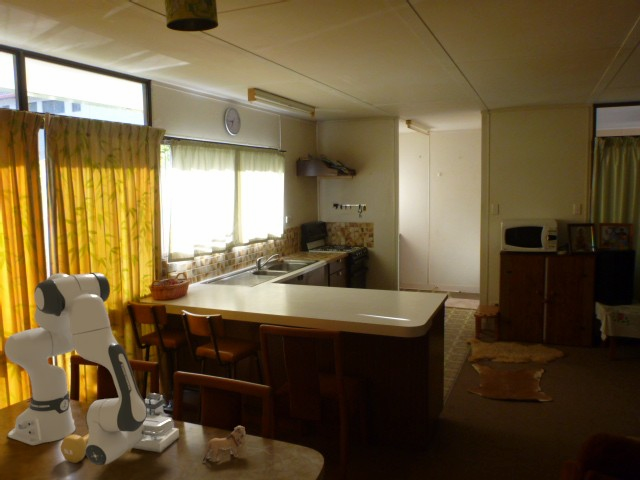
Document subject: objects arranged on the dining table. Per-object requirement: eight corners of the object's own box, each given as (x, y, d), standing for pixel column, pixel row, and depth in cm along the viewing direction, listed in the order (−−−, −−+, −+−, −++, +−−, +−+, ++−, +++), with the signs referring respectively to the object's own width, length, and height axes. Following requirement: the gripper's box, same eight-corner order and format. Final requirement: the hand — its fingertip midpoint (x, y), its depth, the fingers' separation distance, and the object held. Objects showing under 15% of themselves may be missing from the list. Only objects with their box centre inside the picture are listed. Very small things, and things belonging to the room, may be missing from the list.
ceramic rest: (132, 447, 177) (131, 439, 177) (152, 433, 188) (151, 424, 187) (160, 452, 174) (160, 443, 173) (179, 436, 184) (178, 428, 184)
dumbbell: (79, 466, 166) (77, 441, 165) (58, 461, 170) (56, 437, 169) (123, 439, 184) (121, 416, 183) (103, 435, 187) (101, 412, 186)
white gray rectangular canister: (145, 439, 179) (143, 395, 177) (154, 432, 183) (152, 390, 182) (156, 441, 177) (154, 397, 176) (165, 434, 182) (163, 391, 181)
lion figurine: (243, 447, 176) (242, 421, 175) (249, 454, 171) (248, 428, 170) (199, 459, 169) (198, 432, 168) (204, 467, 164) (203, 439, 163)
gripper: (157, 425, 164) (182, 407, 177) (103, 418, 170) (130, 401, 183) (158, 445, 164) (183, 425, 178) (104, 436, 171) (131, 418, 184)
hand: (156, 413), depth 180 cm, fingers closed on white gray rectangular canister, 4 cm apart
